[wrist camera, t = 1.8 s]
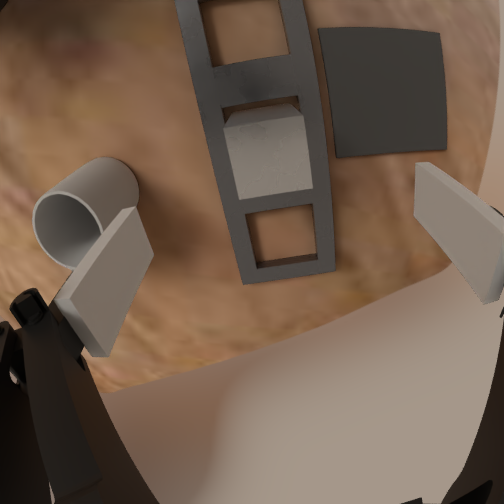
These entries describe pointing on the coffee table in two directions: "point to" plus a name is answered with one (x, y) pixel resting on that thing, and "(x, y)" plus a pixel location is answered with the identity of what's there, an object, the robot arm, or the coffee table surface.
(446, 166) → the coffee table surface
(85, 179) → the cup
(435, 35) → the rubber mat
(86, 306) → the robot arm
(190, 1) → the rail
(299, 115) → the grey rectangular block
